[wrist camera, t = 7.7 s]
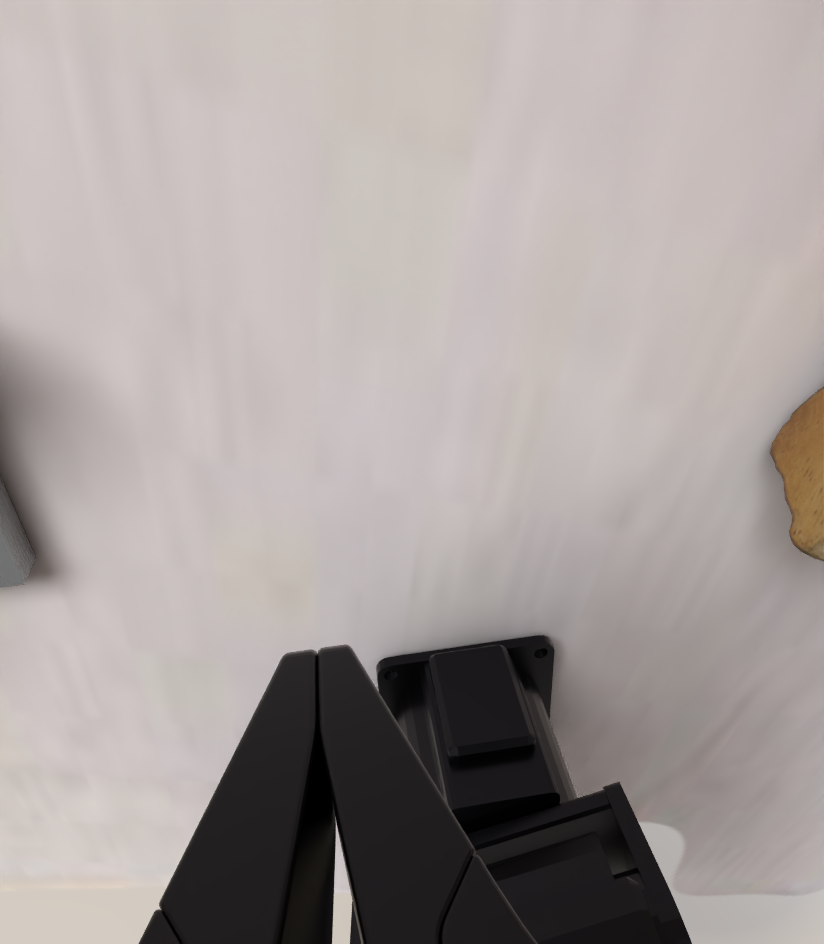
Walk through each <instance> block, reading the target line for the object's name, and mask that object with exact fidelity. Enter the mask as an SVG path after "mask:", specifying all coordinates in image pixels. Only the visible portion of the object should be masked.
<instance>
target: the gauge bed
mask: <svg viewBox="0 0 824 944" xmlns="http://www.w3.org/2000/svg"><path fill="white" fill-rule="evenodd" d="M35 559H36V557H35V554H34V552H33V550H32V547H31V545H30V543H29V541H28V538H27V536H26V534H25V531H24V529H23V527H22V525H21V522H20V520H19V518H18V516H17V513H16V511H15V509H14V506H13V504H12V502H11V500H10V497H9V495H8V493H7V490H6V488H5V486H4V484H3V481H2V479H1V477H0V588H1V587H9V586H16V585H24V584H25V582H26V579H27V577H28V575H29V573H30V570H31V568H32V566H33V564H34V561H35Z"/></svg>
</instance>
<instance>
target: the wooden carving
mask: <svg viewBox="0 0 824 944" xmlns="http://www.w3.org/2000/svg"><path fill="white" fill-rule="evenodd" d="M770 454H771V456H772V458H773V460H774V462H775V465H776V469H777V470H778V472H779V473H780V474H781V475H782V478H783V481H784V490H785V499H786V501H787V504H788V506H789V508H790V510H791V513H792V525H791V527H790V530H789V532H790V537H791V540H792V542H793V545H795V546H796V547H797V548H798V549H799V550H800V551H802V552H803V553H805V554H807V555H809V556H811V557H813V558H815V559H818V560H821V561H824V387H823V388H821V389H820V390H818V391H817V392H816V393H815V394H814V395H813V396H812V397H810V398H809V399H808V400H807V401H806V402H804V403H803V404H802V405H801V406H800V407H799V408H798V409H797V410H796V411H795V412H794V413H793V414H792V416H791V418H790V420H789V421H788V422H787V423H786V424H785V425H784V426H783V427H782V429H781V430H780V432H779V433H778V435H777V437H776V438H775V440H774V441H773V443H772V447H771V450H770Z"/></svg>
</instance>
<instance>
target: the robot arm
mask: <svg viewBox="0 0 824 944" xmlns="http://www.w3.org/2000/svg"><path fill="white" fill-rule="evenodd" d="M540 648H542V649H540ZM538 649H539V650H538ZM553 663H554V647H553V645H552V643H551V640H550V639H549V638H548V637H546V636H532V637H525V638H518V639H511V640H504V641H497V642H491V643H484V644H477V645H470V646H463V647H456V648H449V649H443V650H436V651H429V652H422V653H415V654H408V655H401V656H395V657H388V658H385V659H383V660H381V661H380V662H379V663H378V664H377V667H376V672H377V680H378V689H379V692H378V690H377V689H376V687H375V685H374V684H373V682H372V680H371V679H370V677H369V676H368V674H367V672H366V671H365V669H364V667H363V666H362V664H361V663H360V661H359V659H358V658H357V656H356V654H355V653H354V651H353V650H352V648H351V647H350V646H348V645H339V646H332V647H325V648H321V649H320V650H319V651H318V655H317V652H316V651H314V650H304V651H297V652H290V653H287V654H285V655H284V656H283V657H282V659H281V661H280V663H279V665H278V667H277V669H276V671H275V673H274V675H273V677H272V679H271V681H270V683H269V685H268V687H267V689H266V691H265V693H264V695H263V697H262V699H261V701H260V703H259V705H258V707H257V709H256V711H255V713H254V715H253V717H252V719H251V721H250V723H249V725H248V727H247V729H246V731H245V733H244V735H243V737H242V739H241V741H240V743H239V745H238V747H237V749H236V751H235V753H234V755H233V757H232V759H231V761H230V763H229V765H228V767H227V769H226V771H225V773H224V775H223V777H222V779H221V781H220V783H219V785H218V787H217V789H216V791H215V793H214V795H213V797H212V799H211V801H210V803H209V805H208V807H207V809H206V811H205V813H204V815H203V817H202V819H201V821H200V822H199V824H198V826H197V828H196V830H195V832H194V834H193V836H192V838H191V840H190V842H189V844H188V846H187V848H186V850H185V852H184V854H183V856H182V858H181V860H180V862H179V864H178V866H177V868H176V870H175V872H174V874H173V876H172V878H171V880H170V882H169V884H168V886H167V888H166V890H165V892H164V895H163V896H162V898H161V900H160V903H159V906H160V909H161V910H156V911H155V912H154V914H153V916H152V918H151V920H150V922H149V924H148V926H147V928H146V930H145V932H144V934H143V936H142V938H141V940H140V942H139V944H332V926H333V898H334V896H333V895H334V870H335V839H336V822H337V827H338V832H339V837H340V842H341V847H342V852H343V857H344V861H345V866H346V871H347V876H348V881H349V886H350V890H351V895H352V900H353V902H352V918H351V935H350V944H692V943H691V940H690V938H689V935H688V932H687V930H686V928H685V925H684V922H683V920H682V918H681V915H680V913H679V910H678V908H677V906H676V903H675V901H674V899H673V896H672V894H671V892H670V890H669V888H668V885H667V883H666V881H665V879H664V877H663V875H662V873H661V870H660V868H659V866H658V864H657V862H656V860H655V857H654V855H653V853H652V851H651V849H650V847H649V845H648V842H647V840H646V838H645V836H644V834H643V832H642V829H641V827H640V825H639V823H638V821H637V819H636V817H635V814H634V812H633V810H632V808H631V806H630V804H629V802H628V799H627V797H626V795H625V793H624V791H623V789H622V787H621V784H620V782H617V783H614V784H611V785H608V786H605V787H603V789H604V790H602V791H599V792H596V793H593V794H590V795H586V796H583V797H580V798H577V796H576V793H575V790H574V788H573V785H572V782H571V779H570V777H569V774H568V771H567V768H566V765H565V763H564V760H563V757H562V754H561V751H560V749H559V746H558V743H557V740H556V737H555V735H554V732H553V729H552V726H551V723H550V721H549V718H550V704H551V690H552V677H553ZM390 670H392V671H391V672H388V671H390ZM335 817H336V821H335Z"/></svg>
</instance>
